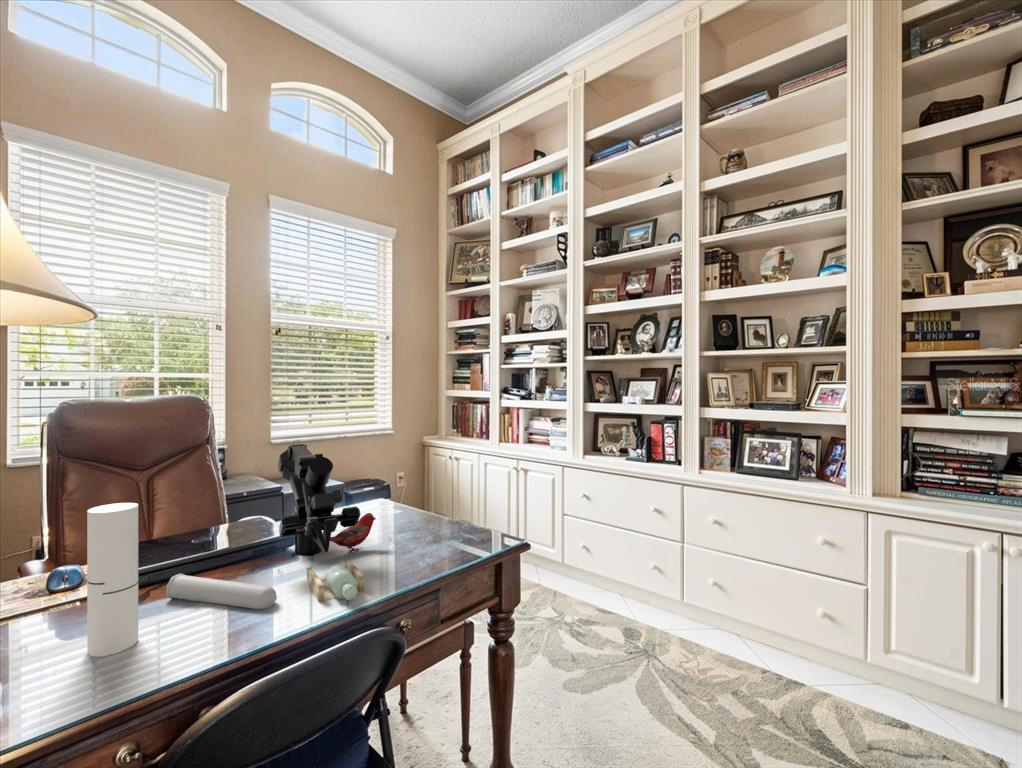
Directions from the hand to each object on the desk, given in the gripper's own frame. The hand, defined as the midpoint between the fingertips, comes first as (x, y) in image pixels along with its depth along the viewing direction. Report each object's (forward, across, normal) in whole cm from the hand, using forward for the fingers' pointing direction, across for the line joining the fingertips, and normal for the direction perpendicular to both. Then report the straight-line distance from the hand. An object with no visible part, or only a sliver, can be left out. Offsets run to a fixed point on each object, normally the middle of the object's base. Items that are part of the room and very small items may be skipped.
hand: (326, 552), depth 120 cm
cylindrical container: (+12, -40, -3) cm, 42 cm away
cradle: (+10, 0, -2) cm, 10 cm away
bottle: (+8, 0, -4) cm, 9 cm away
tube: (+6, -22, +3) cm, 23 cm away
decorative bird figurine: (-5, +9, +15) cm, 18 cm away
